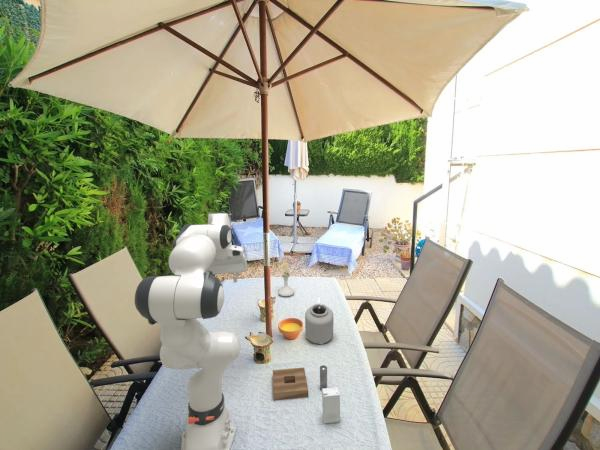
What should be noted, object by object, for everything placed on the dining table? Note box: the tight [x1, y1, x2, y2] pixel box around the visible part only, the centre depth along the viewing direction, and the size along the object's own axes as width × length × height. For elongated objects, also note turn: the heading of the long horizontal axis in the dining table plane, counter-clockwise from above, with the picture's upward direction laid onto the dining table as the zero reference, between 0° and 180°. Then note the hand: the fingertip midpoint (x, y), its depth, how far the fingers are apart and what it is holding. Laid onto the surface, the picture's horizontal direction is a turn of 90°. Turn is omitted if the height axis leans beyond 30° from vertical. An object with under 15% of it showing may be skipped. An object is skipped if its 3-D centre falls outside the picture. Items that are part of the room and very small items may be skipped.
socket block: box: [272, 367, 309, 401], centre depth 137 cm, size 14×14×4 cm
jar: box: [304, 297, 335, 349], centre depth 168 cm, size 19×15×25 cm
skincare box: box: [321, 386, 341, 424], centre depth 119 cm, size 6×4×12 cm
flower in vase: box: [277, 261, 295, 297], centre depth 223 cm, size 13×11×25 cm
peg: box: [319, 365, 328, 392], centre depth 135 cm, size 3×3×10 cm
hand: (223, 283), depth 134 cm, fingers open, 8 cm apart
